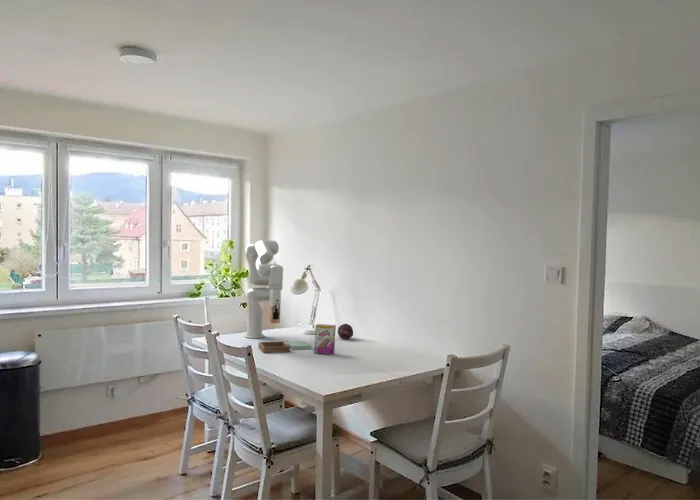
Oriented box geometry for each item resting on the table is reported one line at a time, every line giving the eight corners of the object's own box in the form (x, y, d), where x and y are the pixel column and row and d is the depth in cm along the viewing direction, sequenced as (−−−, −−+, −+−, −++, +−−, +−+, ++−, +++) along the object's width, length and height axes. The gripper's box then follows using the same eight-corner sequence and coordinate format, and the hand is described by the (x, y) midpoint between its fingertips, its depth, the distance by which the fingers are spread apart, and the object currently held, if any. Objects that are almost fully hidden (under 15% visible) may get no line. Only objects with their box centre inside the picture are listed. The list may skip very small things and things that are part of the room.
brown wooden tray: (258, 347, 307) (258, 342, 307) (283, 346, 312) (283, 341, 312) (263, 353, 293) (263, 347, 293) (289, 351, 298) (289, 346, 298)
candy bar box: (314, 353, 295) (315, 324, 295) (315, 351, 300) (316, 323, 300) (333, 355, 294) (334, 325, 294) (334, 353, 299) (335, 324, 299)
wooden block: (269, 321, 304) (270, 304, 303) (277, 321, 305) (278, 304, 305) (271, 323, 299) (271, 305, 299) (279, 323, 301) (280, 305, 300)
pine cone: (333, 336, 349) (334, 321, 348) (347, 336, 352) (348, 321, 352) (342, 341, 332) (342, 326, 332) (356, 341, 335) (357, 325, 335)
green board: (286, 345, 315) (286, 342, 315) (305, 344, 319) (305, 341, 319) (291, 349, 304) (291, 346, 304) (311, 348, 308) (311, 345, 308)
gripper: (266, 285, 308) (265, 316, 309) (272, 288, 292) (271, 321, 293) (279, 285, 311) (277, 315, 311) (285, 288, 295) (284, 320, 295)
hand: (274, 318), depth 302 cm, fingers closed on wooden block, 5 cm apart
